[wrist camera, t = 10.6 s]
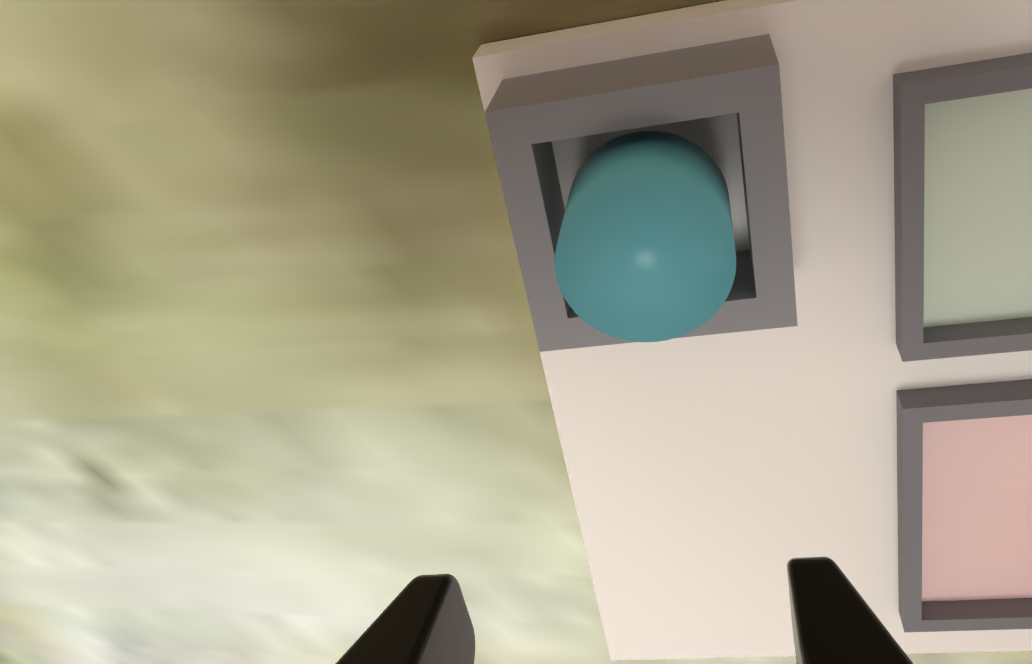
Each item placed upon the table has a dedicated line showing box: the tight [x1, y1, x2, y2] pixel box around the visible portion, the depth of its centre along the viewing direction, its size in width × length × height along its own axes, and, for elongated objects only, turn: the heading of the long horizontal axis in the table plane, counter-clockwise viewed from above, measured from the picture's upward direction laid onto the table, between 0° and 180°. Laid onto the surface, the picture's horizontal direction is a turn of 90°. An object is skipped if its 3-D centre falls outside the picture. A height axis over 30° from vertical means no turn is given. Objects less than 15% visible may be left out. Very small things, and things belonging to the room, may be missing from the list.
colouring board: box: [472, 0, 1032, 660], centre depth 20 cm, size 17×17×3 cm
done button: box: [555, 131, 736, 342], centre depth 17 cm, size 3×3×2 cm
